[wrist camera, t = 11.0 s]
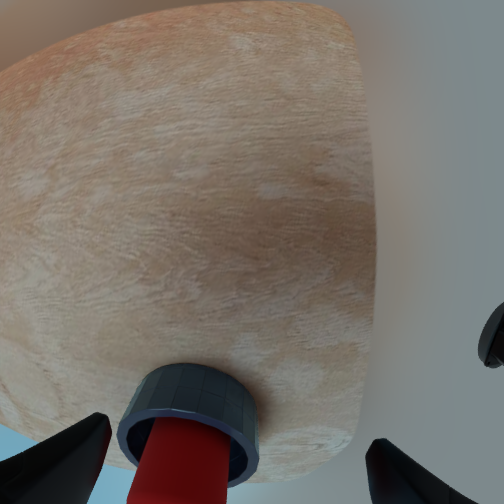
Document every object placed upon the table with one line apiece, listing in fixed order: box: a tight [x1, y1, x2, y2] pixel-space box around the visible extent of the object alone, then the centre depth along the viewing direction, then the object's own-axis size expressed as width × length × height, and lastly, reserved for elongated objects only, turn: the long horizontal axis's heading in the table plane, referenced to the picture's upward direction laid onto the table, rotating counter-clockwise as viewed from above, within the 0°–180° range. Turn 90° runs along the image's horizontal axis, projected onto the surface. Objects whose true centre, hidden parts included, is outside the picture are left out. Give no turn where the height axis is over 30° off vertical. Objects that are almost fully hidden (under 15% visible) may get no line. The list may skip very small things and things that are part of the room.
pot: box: [116, 364, 259, 488], centre depth 20 cm, size 11×11×6 cm
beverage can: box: [127, 417, 231, 504], centre depth 16 cm, size 6×6×12 cm
